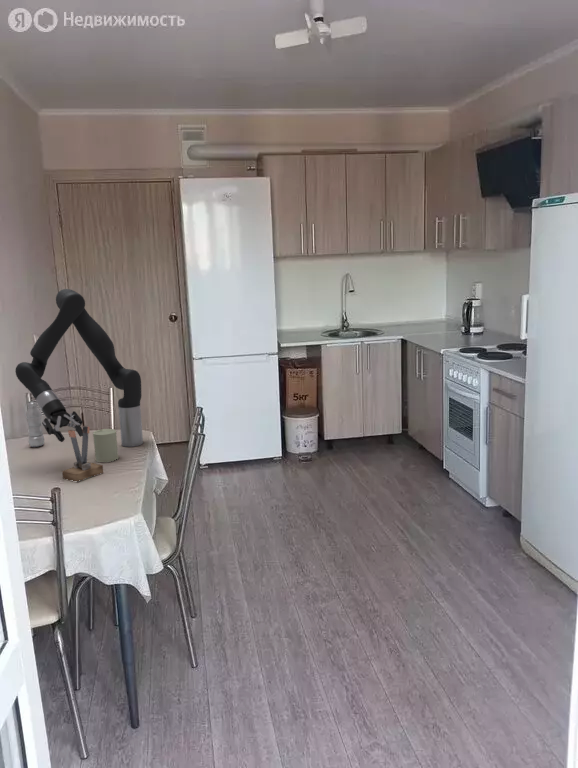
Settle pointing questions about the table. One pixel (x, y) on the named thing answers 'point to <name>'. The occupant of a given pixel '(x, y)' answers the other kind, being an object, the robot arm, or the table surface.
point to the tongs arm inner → (85, 444)
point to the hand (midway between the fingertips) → (72, 437)
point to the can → (105, 445)
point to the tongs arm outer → (76, 447)
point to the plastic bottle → (34, 425)
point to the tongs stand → (82, 471)
